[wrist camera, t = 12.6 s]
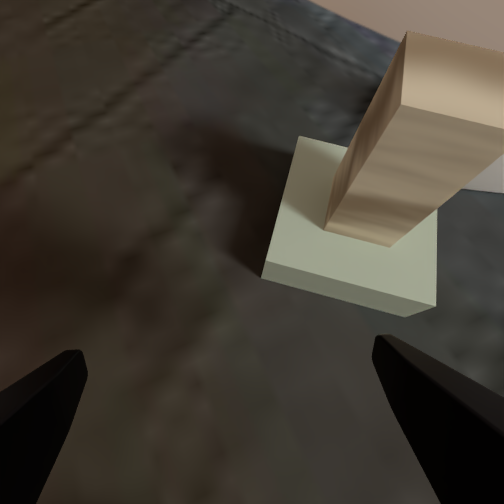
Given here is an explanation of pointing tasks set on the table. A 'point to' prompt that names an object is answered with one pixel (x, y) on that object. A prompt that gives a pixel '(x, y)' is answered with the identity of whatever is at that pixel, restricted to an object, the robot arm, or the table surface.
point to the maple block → (419, 138)
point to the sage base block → (345, 245)
